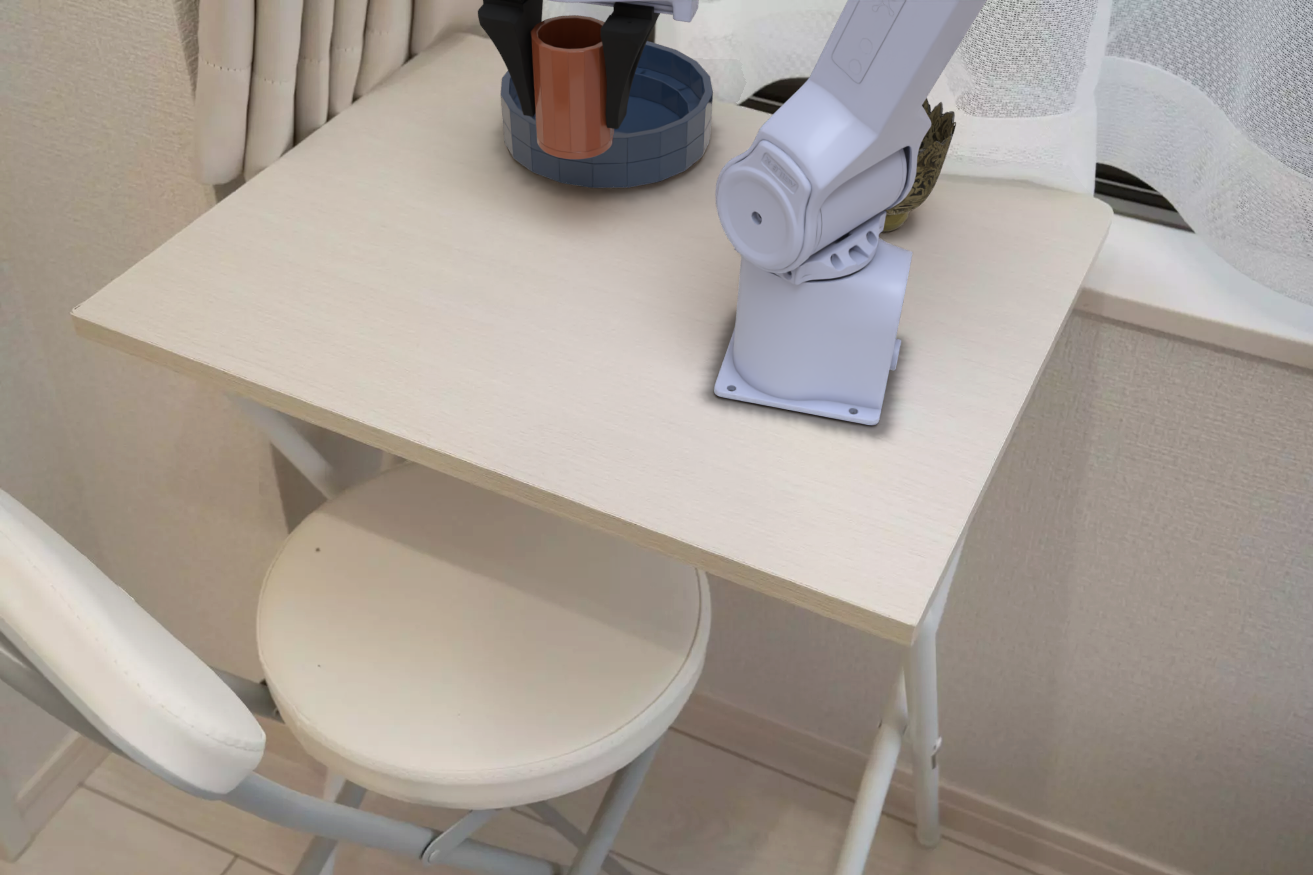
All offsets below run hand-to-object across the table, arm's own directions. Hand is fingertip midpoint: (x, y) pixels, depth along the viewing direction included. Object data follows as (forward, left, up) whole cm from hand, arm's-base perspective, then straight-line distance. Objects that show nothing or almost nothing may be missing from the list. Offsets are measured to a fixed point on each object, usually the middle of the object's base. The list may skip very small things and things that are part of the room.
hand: (575, 114), depth 73 cm
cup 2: (-19, -8, -9) cm, 23 cm away
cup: (0, 0, -2) cm, 2 cm away
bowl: (+2, -13, -9) cm, 16 cm away
